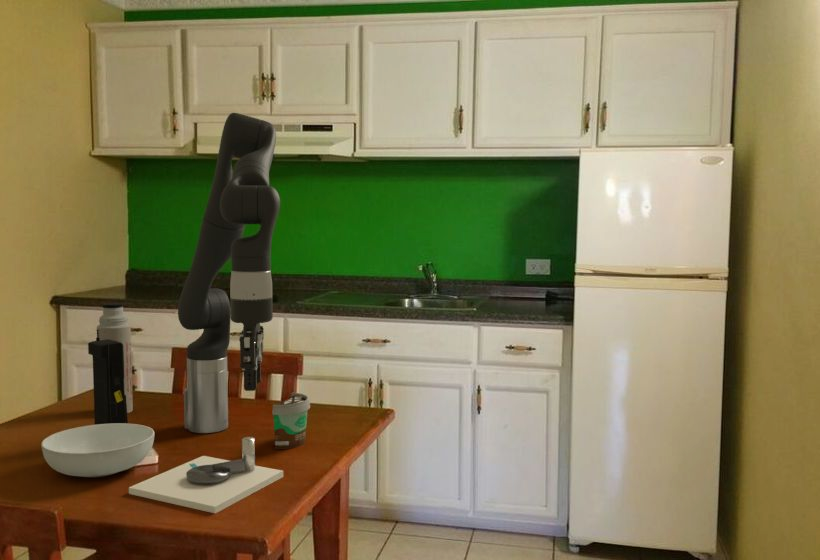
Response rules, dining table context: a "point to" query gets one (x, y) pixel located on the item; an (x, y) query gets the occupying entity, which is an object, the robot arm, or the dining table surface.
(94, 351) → the portable radio
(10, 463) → the dining table surface
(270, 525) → the dining table surface
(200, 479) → the dial
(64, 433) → the serving bowl
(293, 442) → the food container
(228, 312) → the robot arm
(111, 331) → the thermos bottle
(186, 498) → the dial plate
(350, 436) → the dining table surface
